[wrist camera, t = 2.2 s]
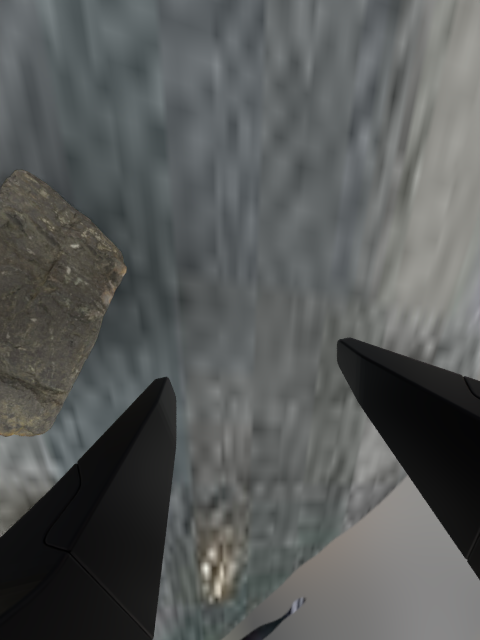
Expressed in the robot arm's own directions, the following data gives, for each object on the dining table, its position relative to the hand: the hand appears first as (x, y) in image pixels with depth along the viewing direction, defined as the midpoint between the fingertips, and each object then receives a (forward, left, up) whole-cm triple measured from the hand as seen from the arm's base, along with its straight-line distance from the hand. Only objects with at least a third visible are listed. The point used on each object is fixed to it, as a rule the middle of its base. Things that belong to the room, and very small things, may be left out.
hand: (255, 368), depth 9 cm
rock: (0, +13, -12) cm, 18 cm away
